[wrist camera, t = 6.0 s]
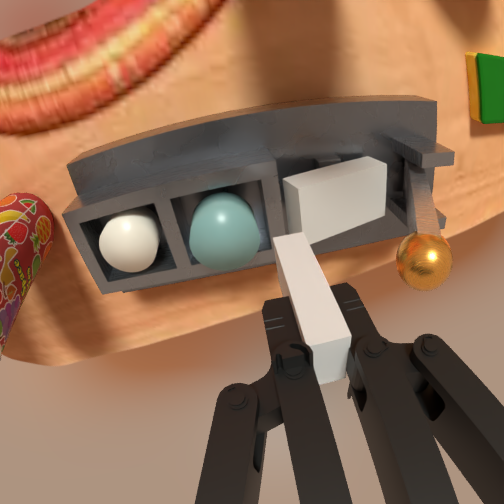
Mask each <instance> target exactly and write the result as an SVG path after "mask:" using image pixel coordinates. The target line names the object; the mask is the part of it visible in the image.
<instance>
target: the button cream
mask: <svg viewBox="0 0 504 504" xmlns="http://www.w3.org/2000/svg"><path fill="white" fill-rule="evenodd" d="M161 231H162V229H161V224H160V221H159V219H158V217H157V216H156V214H155V213H154V212H153V211H151V210H150V209H149V208H147V207H145V206H140V207H136V208H132V209H128V210H125V211H121V212H117V213H114V214H112V216H111V217H110V219H109V221H108V222H107V224H106V226H105V228H104V229H103V231H102V233H101V235H100V239H99V247H100V251H101V253H102V255H103V257H104V258H105V260H106V261H107V262H108V263H109V264H110V265H112V266H113V267H115V268H116V269H119V270H121V271H125V272H139V271H142V270H144V269H146V268H148V267H149V266H150V265H151V264H152V263H153V261H154V259H155V257H156V253H157V249H158V245H159V241H160V237H161Z"/></svg>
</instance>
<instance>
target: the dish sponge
mask: <svg viewBox="0 0 504 504" xmlns="http://www.w3.org/2000/svg"><path fill="white" fill-rule="evenodd" d="M465 57H466V65H467V74H468V85H469V101H470V117H471V118H472V119H473V120H476V121H479V122H482V123H483V124H490V123H504V57H500V56H494V55H488V54H482V53H475V52H466V54H465Z"/></svg>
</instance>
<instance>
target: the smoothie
mask: <svg viewBox="0 0 504 504" xmlns="http://www.w3.org/2000/svg"><path fill="white" fill-rule="evenodd" d="M53 232H54V222H53V218H52V214H51V212H50V210H49V209H48V207H47V205H46V204H45V203H44V202H43V201H42V200H41V199H40V198H38V197H37V196H35V195H33V194H29V193H14V194H10V195H8V196H7V197H5V198H4V199H3V200H1V201H0V360H1V353H2V351H3V348H4V346H5V343H6V341H7V338H8V336H9V333H10V331H11V328H12V326H13V323H14V321H15V319H16V316H17V314H18V312H19V310H20V307H21V305H22V303H23V301H24V299H25V297H26V295H27V292H28V290H29V288H30V286H31V284H32V282H33V280H34V278H35V276H36V275H37V273H38V271H39V269H40V267H41V265H42V263H43V261H44V260H45V258H46V256H47V254H48V252H49V251H50V249H51V246H52V243H53V240H54V238H53Z"/></svg>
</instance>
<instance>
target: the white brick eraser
mask: <svg viewBox="0 0 504 504" xmlns="http://www.w3.org/2000/svg"><path fill="white" fill-rule="evenodd" d="M282 180H283V188H284V196H285V204H286V213H287V221H288V230H289V234H294V233H300V232H303V233H304V235H305V237H306V239H307V241H308V243H309V245H310V244H313V243H316V242H318V241H321V240H323V239H326V238H329V237H331V236H334V235H336V234H339V233H341V232H344V231H347V230H349V229H352V228H354V227H357V226H359V225H362V224H365V223H367V222H370V221H372V220H375V219H377V218H380V217H382V216H385V203H386V180H387V164H386V163H383V162H381V161H379V160H376V159H374V158H371V157H369V156H366V157H362V158H358V159H354V160H350V161H346V162H342V163H338V164H334V165H330V166H326V167H323V168H319V169H315V170H311V171H308V172H304V173H300V174H297V175H293V176H290V177H286V178H283V179H282Z"/></svg>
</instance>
